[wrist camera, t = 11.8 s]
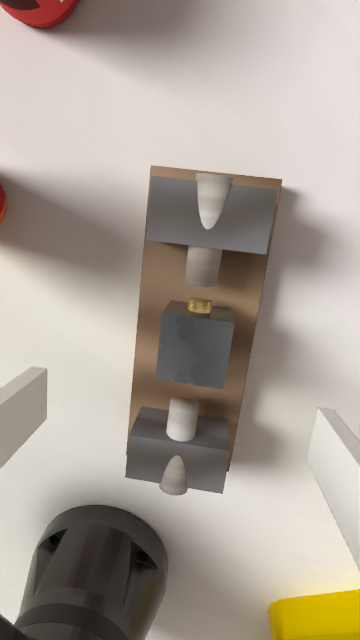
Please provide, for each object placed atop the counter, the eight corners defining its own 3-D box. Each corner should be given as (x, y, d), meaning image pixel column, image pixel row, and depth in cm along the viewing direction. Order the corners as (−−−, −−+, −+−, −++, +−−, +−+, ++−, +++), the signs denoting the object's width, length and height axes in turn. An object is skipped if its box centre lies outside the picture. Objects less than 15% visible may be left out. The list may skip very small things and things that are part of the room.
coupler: (171, 290, 26) (163, 301, 21) (231, 298, 26) (236, 311, 21) (163, 363, 28) (153, 389, 23) (219, 371, 27) (221, 399, 22)
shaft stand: (227, 457, 32) (232, 517, 25) (131, 442, 32) (109, 496, 25) (276, 184, 25) (302, 161, 18) (155, 171, 26) (135, 144, 19)
